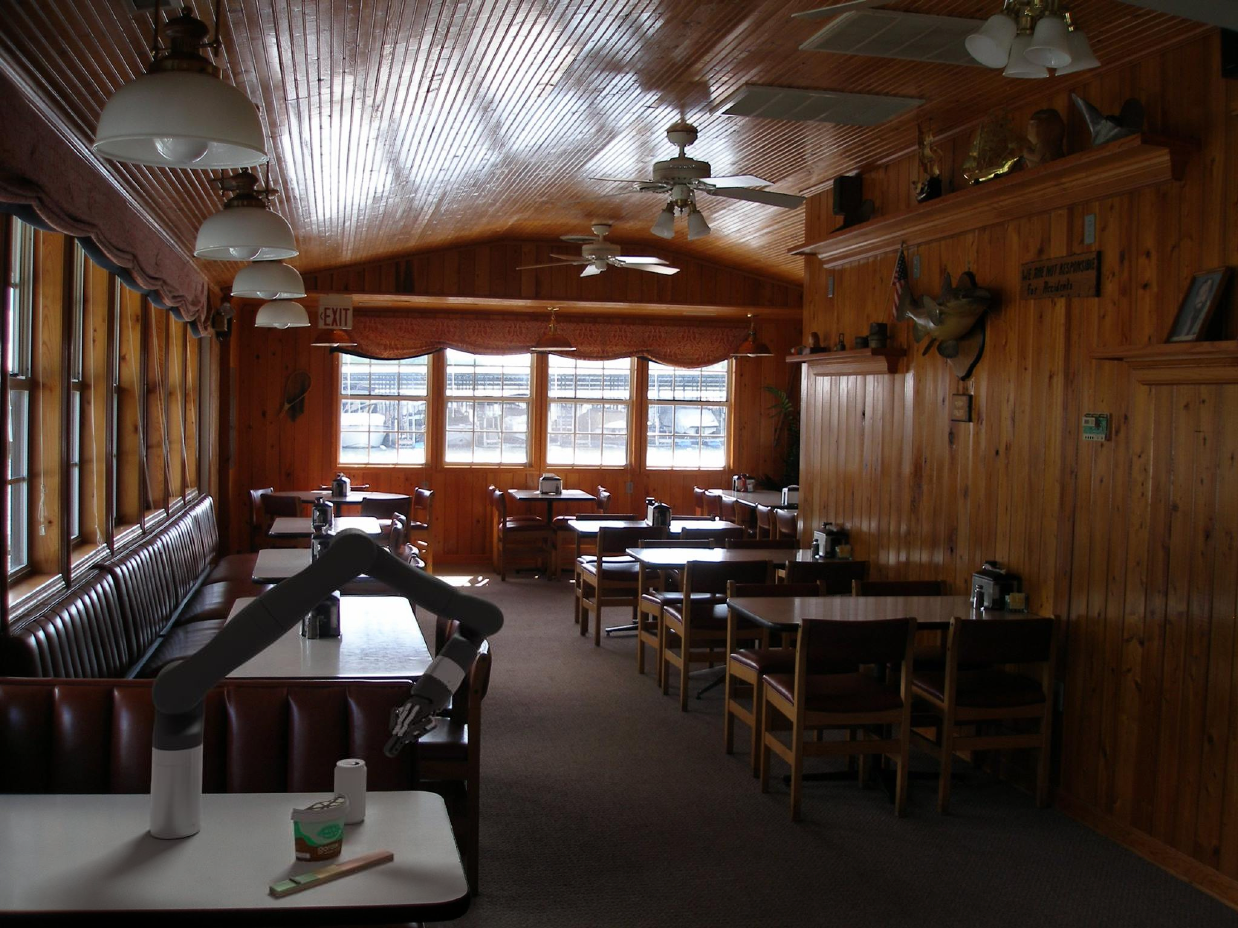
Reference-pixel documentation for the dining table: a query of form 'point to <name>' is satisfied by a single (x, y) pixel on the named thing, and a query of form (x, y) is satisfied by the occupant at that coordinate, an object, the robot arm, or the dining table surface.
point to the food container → (320, 829)
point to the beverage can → (352, 787)
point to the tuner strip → (330, 873)
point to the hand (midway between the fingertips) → (388, 754)
